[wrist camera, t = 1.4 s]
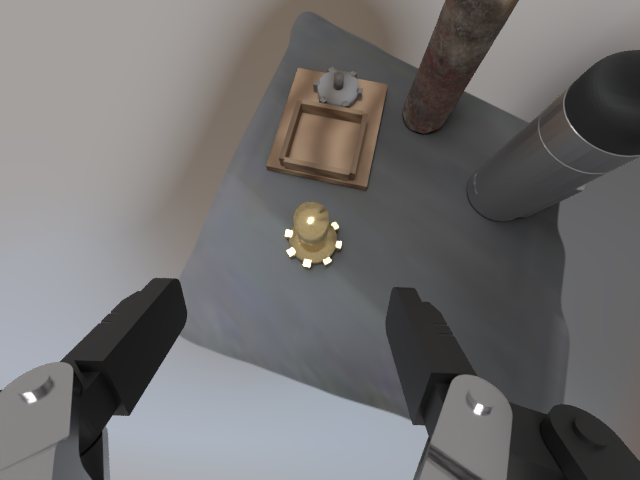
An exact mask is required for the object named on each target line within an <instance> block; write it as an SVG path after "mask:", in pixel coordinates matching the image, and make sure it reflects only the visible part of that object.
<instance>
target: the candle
mask: <svg viewBox="0 0 640 480" xmlns="http://www.w3.org/2000/svg"><path fill="white" fill-rule="evenodd" d="M518 1H519V0H446V1H445V3H444V5H443V8H442V10H441V13H440V16H439V18H438V21H437V24H436V26H435V29H434V31H433V34H432V36H431V39H430V42H429V44H428V47H427V49H426V52H425V54H424V57H423V59H422V62H421V64H420V67H419V69H418V72H417V74H416V77H415V79H414V82H413V84H412V87H411V89H410V92H409V94H408V97H407V100H406V102H405V105H404V109H403V115H404V120H405V124H406V126H407V127H408V128H409V129H411V130H413V131H417V132H420V133H428V132H430V131H434V130H437V129H439V128H440V127H441V126H442V125H443V124H444V123H445V121H446V120H447V118H448V117H449V115H450V113H451V112H452V110H453V108H454V107H455V105H456V103H457V102H458V100H459V98H460V97H461V95H462V93H463V92H464V90H465V88H466V86H467V85H468V83H469V81H470V80H471V78H472V77H473V75H474V73H475V71H476V70H477V68H478V66H479V65H480V63H481V62H482V60H483V59H484V57H485V55H486V54H487V52H488V51H489V49H490V47H491V46H492V44H493V42H494V40H495V39H496V37H497V35H498V34H499V32H500V31H501V29H502V28H503V26H504V24H505V23H506V21H507V19H508V17H509V16H510V14H511V13H512V11H513V9H514V7H515V6H516V4H517V2H518Z"/></svg>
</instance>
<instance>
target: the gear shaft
mask: <svg viewBox="0 0 640 480" xmlns="http://www.w3.org/2000/svg"><path fill="white" fill-rule="evenodd" d="M293 220H294V227H293V228H292V230H287V229H286V233H285V238H286V239H288V240H289V241H290V246H291V248H290V249H289V250H287V253H288V254H289V256H290V258H291V259H292V258H294V257H295V256H296V257H297V258H298V259H299V260H300V261H302V262H304V263H303V268H307V269H310V268H311V264H320V263H323V264H324V266H325V267H326V266H327V265H329V264H331V259H330V257H331V256H332V254H333V253H334V251H335V250H337V251H340V249H341V244H342V242H340V241H337V235H336V232H337V231H339V226H338V225H337V223H336V222H334V223H333V224H330V223H329V214H328V212H327V210H326V208H325V207H324V206H322V205H321V204H319V203H316V202H307V203H304V204H302V205H300V206H299V207H298V208H297V209H296V211H295V213H294V218H293Z"/></svg>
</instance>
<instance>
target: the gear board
mask: <svg viewBox="0 0 640 480" xmlns="http://www.w3.org/2000/svg"><path fill="white" fill-rule="evenodd" d="M356 76H357V73H355V72H354V71H351V72H350V73H348V72H346V71H342V70H335V69H334V67H332V68H328V72H327V73H323V72H318V71H312V70H307V69H301V68H298V70H297V73H296V76H295V79H294V82H293V85H292V88H291V91H290V94H289V97H288V100H287V103H286V106H285V109H284V113H283V116H282V119H281V122H280V125H279V128H278V131H277V134H276V137H275V140H274V143H273V146H272V149H271V152H270V156H269V159H268V162H267V165H266V167H267V169H268V170H271V171H276V172H280V173H285V174H290V175H295V176H299V177H304V178H309V179H314V180H318V181H323V182H328V183H333V184H337V185H342V186H347V187H352V188H356V189H361V190H366V188H367V183H368V179H369V174H370V169H371V164H372V159H373V154H374V149H375V144H376V140H377V135H378V130H379V125H380V120H381V115H382V110H383V105H384V100H385V96H386V91H387V86H388V84H383V83H377V82H372V81H366V80H361V79H356Z"/></svg>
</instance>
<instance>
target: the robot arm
mask: <svg viewBox="0 0 640 480" xmlns="http://www.w3.org/2000/svg"><path fill="white" fill-rule="evenodd" d="M639 157H640V50H634V51H624V52H619V53H615V54H612V55H610V56H607V57H605V58H604V59H602V60H600V61H598V62H597V63H595V64H594V65H593V66H592V67H591V68H589V69H588V70H587V71H586V72H585V73H584V74H582V75H581V76H580V77H579V78H578V79H577V80H576V81H575V82H574V83H573V84H572V85H571V86H570V87H568V88H567V89H566V90H565V91H564V92H563V93H562V94H561V95H560V96H559V97H558V98H556V99H555V100H554V101H553V102H552V103H551V104H550V105H549V106H548V107H547V108H546V109H545V110H543V111H542V112H541V113H540V114H539V115H538V116H537V117H536V118H535V119H534V120H532V121H531V122H530V123H529V124H528V125H527V126H526V127H525V128H524V129H523V130H521V131H520V132H519V133H518V134H517V135H516V136H515V137H514V138H513V139H512V140H510V141H509V142H508V143H507V144H506V145H505V146H504V147H503V148H502V149H501V150H499V151H498V152H497V153H496V154H495V155H494V156H493V157H492V158H491V159H490V160H488V161H487V162H486V163H485V164H484V165H483V166H482V167H481V168H480V169H479V170H477V171H476V172H475V173H474V174H473V175H472V177H471V178H470V180H469V182H468V186H467V194H468V198H469V200H470V202H471V204H472V206H473V207H474V208H475V210H476V211H478V212H479V213H480V214H481V215H483V216H484V217H486V218H488V219H491V220H495V221H510V220H513V219H515V218H517V217H523V218H526V217H528V216H530V215H533V214H535V213H537V212H539V211H541V210H543V209H545V208H547V207H550V206H552V205H554V204H556V203H558V202H560V201H562V200H564V199H567V198H569V197H571V196H573V195H575V194H577V193H579V192H582V191H583V190H584V189H585V188H586V184H587V183H589V182H591V181H593V180H595V179H597V178H599V177H601V176H603V175H605V174H607V173H609V172H611V171H613V170H615V169H617V168H619V167H621V166H623V165H625V164H627V163H629V162H631V161H633V160H635V159H638V158H639ZM186 319H187V309H186V305H185V301H184V296H183V292H182V288H181V284H180V281H179V280H178V279H172V278H170V279H169V278H154V279H152V280H151V281H150V282H149V283H148V285H146V286H145V288H144V289H142V290H141V291H137V292H136V293H134V294H132V295H131V296H129V297H127V298H126V299H124V300H122V301H121V302H120V303H119V304H118V305H117V306H116V307H115V308H114V309H113V310H112V311H111V314H108V315H107V316H106V317H105V318H104V319H103V320H102V321H101V324H98V325H97V326H96V327H95V328H94V329H93V330H92V331H91V332H90V333H89V334H88V335H87V336H86V337H85V338H84V339H83V340H82V341H80V342H79V343H78V344H77V345H76V347H74V348H73V350H71V351H70V352H69V353H68V354H67V355H66V356H65V357H64V358H63V359H62V360H61V361H60V362H55V363H49V364H45V365H43V366H39V367H37V368H35V369H32V370H30V371H28V372H26V373H25V374H23V375H21V376H19V377H18V378H17V379H15V380H14V381H12V382H11V383H10V384H9V385H7V386H6V387H5V388H4V389H3V390H0V480H110V470H109V448H108V431H107V428H106V424H107V422H108V421H109V420H110V418H111V417H112V415H121V416H124V415H125V416H129V415H130V414H131V412H132V410H133V409H134V407H135V405H136V404H137V402H138V401H139V399H140V397H141V396H142V394H143V393H144V391H145V389H146V388H147V386H148V384H149V383H150V381H151V379H152V378H153V376H154V375H155V373H156V371H157V370H158V368H159V367H160V365H161V363H162V362H163V360H164V359H165V357H166V355H167V354H168V352H169V350H170V349H171V347H172V346H173V344H174V342H175V341H176V339H177V337H178V336H179V334H180V333H181V331H182V329H183V328H184V326H185V323H186ZM386 333H387V337H388V341H389V344H390V348H391V351H392V355H393V358H394V362H395V365H396V368H397V372H398V375H399V379H400V382H401V386H402V389H403V393H404V396H405V400H406V403H407V407H408V410H409V413H410V417H411V420H412V424H413V425H425V426H426V429H427V432H428V435H429V437H428V440H427V442H426V445H425V448H424V451H423V453H422V456H421V459H420V462H419V465H418V468H417V471H416V473H415V476H414V479H413V480H640V461H639V460H638V459H637V458H636V457H635V455H634V454H633V453H632V452H631V451H630V450H629V449H628V447H627V446H626V445H625V444H624V442H623V441H622V440H621V439H620V438H619V437H618V436H617V435H616V434H615V432H614V431H612V430H611V429H610V428H609V427H608V426H607V425H606V424H604V423H603V422H602V421H600V420H599V419H598V418H596V417H595V416H593V415H591V414H590V413H588V412H586V411H584V410H582V409H580V408H577V407H574V406H570V405H565V404H560V405H556V406H554V407H553V408H552V409H551V410H550V412H549V413H548V414H547V415H546V414H543V413H540V412H537V411H534V410H531V409H528V408H525V407H522V406H519V405H515V404H513V403H510V402H508V401H507V399H506V398H505V397H504V395H503V394H502V393H501V392H500V391H499V390H498V389H497V388H496V387H495V386H493V385H492V384H490V383H489V382H487V381H486V380H484V379H482V378H479V377H478V376H477V375H476V373H475V371H474V370H473V368H472V366H471V365H470V363H469V361H468V359H467V358H466V356H465V354H464V352H463V351H462V349H461V347H460V346H459V344H458V342H457V340H456V339H455V337H454V336H453V333H452V332H451V330H450V328H449V327H448V326H447V323H446V321H445V320H444V318H443V316H442V314H441V313H440V312H439V311H438V310H437V309H436V308H435V307H434V306H433V305H431V304H430V303H429V302H422V301H421V299H420V297H419V295H418V293H417V291H416V289H415V288H401V287H394V288H393V289H392V292H391V296H390V301H389V306H388V311H387V316H386Z"/></svg>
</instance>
